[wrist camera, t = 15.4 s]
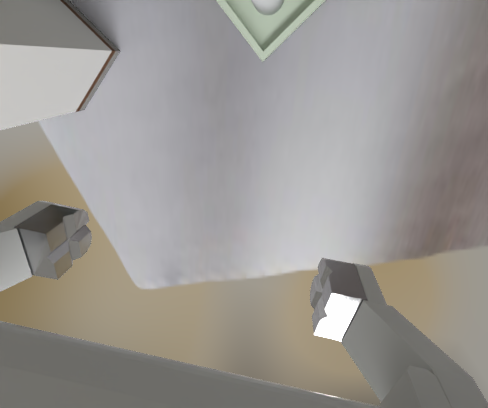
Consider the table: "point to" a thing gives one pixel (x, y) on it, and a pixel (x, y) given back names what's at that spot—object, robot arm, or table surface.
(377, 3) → the table surface
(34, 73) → the notched white block
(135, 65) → the table surface
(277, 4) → the gray bottle
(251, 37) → the tray
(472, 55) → the table surface
